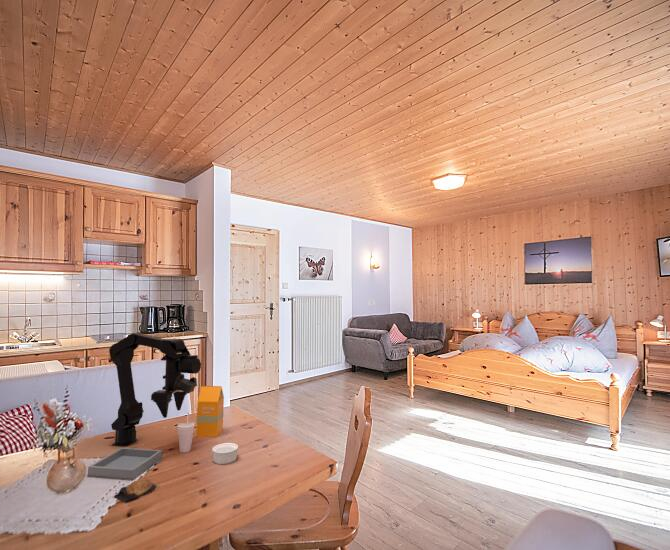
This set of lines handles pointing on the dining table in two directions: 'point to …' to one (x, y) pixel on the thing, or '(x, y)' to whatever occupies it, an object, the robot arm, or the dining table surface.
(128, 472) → the gray square tray
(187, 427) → the smoothie
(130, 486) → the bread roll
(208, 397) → the orange juice
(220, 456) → the ramekin
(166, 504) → the dining table surface
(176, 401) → the robot arm
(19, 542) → the dining table surface
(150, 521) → the dining table surface
